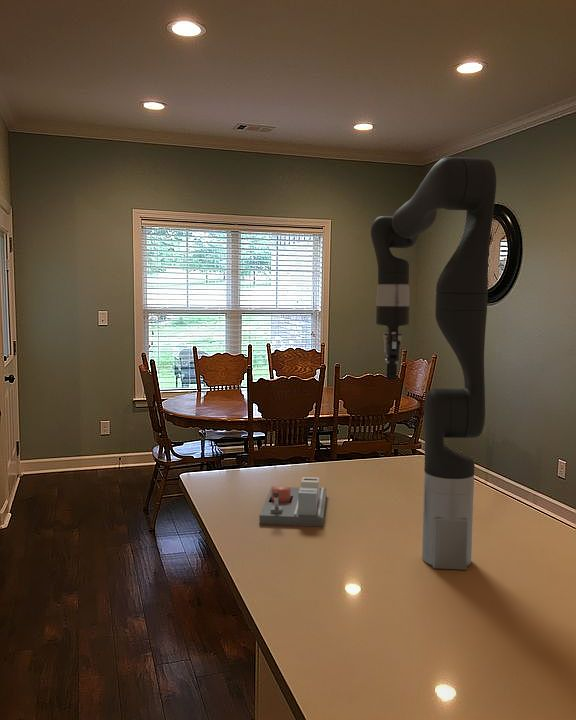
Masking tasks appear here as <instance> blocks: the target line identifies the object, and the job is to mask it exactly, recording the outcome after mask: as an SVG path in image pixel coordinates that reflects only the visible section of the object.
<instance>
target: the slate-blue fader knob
mask: <svg viewBox="0 0 576 720" xmlns="http://www.w3.org/2000/svg"><path fill="white" fill-rule="evenodd" d="M316 514H317V488H301V487H300V488H299V492H298V515H310V516H316Z"/></svg>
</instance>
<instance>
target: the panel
mask: <svg viewBox="0 0 576 720" xmlns="http://www.w3.org/2000/svg"><path fill="white" fill-rule="evenodd" d="M273 487H274V486H271V487H270V490H269V492H268V494H267V497H266V499H265V501H264V503H263V506H262V508H261V510H260V513H259V516H258V517H259V519H258V520H259V523H258V524H259V525H271V526H272V525H273V526H274V525H275V526H295V527H296V526H297V527H299V526H302V527H322V528H323V526H324V518H325V510H326V502H327V488H324V487H323V486H322V487H321V488H320V487H319V501H318V503H317V514H316V516H310V515H298V492H299V488H301V486H299V487H294V486H288V487H289V488H291V503H278V497H279V493H278V492H274V493H273V497H274V502H271V489H272V488H273Z"/></svg>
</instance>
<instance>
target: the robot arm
mask: <svg viewBox="0 0 576 720" xmlns="http://www.w3.org/2000/svg"><path fill="white" fill-rule="evenodd" d="M496 195H497V172H496V169H495V165H494V163H493V162H492V161H491V160H490V159H487V158H480V157H461V156H448V157H443V158H441V159H440V160H438V161H437V162H436V163H435V164H434V165H433V166H432V167H431V168H430V170H429V171H428V173H427V174H426V176H425V177H424V179H423V180H422V182H420V184H419V186H418V187H417V189H416V191H415V192H414V194H413V195H412V196H411V198H410V199H409V200H407V201H406V202H404V204H402V206H400V207H399V208H398V209H397V210H395V212H394V213H393V215H392V216H390V215H385V216H384V215H383V216H382V215H381V216H377V217H376V218H375V219H374V221H373V222H372V225H371V228H370V238H371V243H372V246H373V248H374V253H375V258H376V262H377V291H376V305H375V306H376V307H375V308H376V309H375V310H376V311H375V312H376V313H375V314H376V315H375V316H376V317H375V319H376V320H375V324H376V325H377V326H386V332H383V334H382V340H383V352H384V353H385V356H384V358H385V363H386V374H385V375H386V379H387V380H388V381H394V380H397V374H398V373H397V367H398V362H399V360H400V357H399V355H400V352H401V342H402V337H403V336H402V333H400V332H399V327H400V326H404V327H405V326H408V325H409V323H410V299H411V297H410V296H411V295H410V284H409V283H410V264H409V261H408V260H407V259H404V258H401V257H398V256H394V255H393V253H392V251H391V250H390V249H392V248H393V249H407V248H410V247H413V246H414V245H416V243H417V241H418V238H419V236H420V234H422V233H423V232H424V231H426V230H428V229H429V228H430V227H431V226H432V225H433V223H434V222H435V220H436V217H437V213H438V212H437V211H438V210H440V209H444V210H447V211H466V216H465V217H466V218H465V224H464V230H463V234H462V236H461V240H460V242H459V244H458V246H457V248H456V249H455V251H454V252H453V254H452V255H451V257H450V258H449V260H448V262H447V263H446V264H445V266H444V267H443V269H442V271H441V273H440V274H439V277H438V279H437V282H436V287H435V312H434V313H435V320H436V324H437V326H438V327H439V330H440V331H441V333H442V335H443V336H444V339H446V341H447V343H448V344H449V346H450V348H451V349H452V351H453V352H454V354H455V356H456V358H457V361H458V362H459V364H460V367H461V369H462V374H463V380H464V381H463V382H464V388H431V389H429V390H428V391H427V392H426V394H425V398H424V404H423V420H424V423H423V425H424V469H423V471H424V477H423V479H424V480H423V503H422V504H423V506H422V507H423V509H422V510H423V511H422V541H421V542H422V543H421V544H422V547H421V559H422V560H423V561H424V562H425V563H426V564H428V565H430V566H431V567H432V568H433V569H442V570H443V569H445V570H464V571H466V570H467V569H468V567H469V566H471V564H472V550H473V549H472V548H473V521H474V518H473V517H474V495H475V494H474V490H475V461H474V460H473V458H472V457H470V456H468V455H467V454H464V453H463V452H462V453H461V452H458V451H456V450H453V449H451V448H450V447H449V446H447V445H446V444H445V443H444V440H445V439H446V438H449V439H450V438H451V439H452V438H453V439H457V438H459V439H462V438H463V439H465V438H466V439H469V438H470V439H473V438H478V437H480V436H481V435H482V434H483V430H484V427H485V422H486V421H485V420H486V385H485V383H486V382H485V345H486V326H487V325H486V324H487V313H488V298H489V297H488V295H489V291H488V289H489V288H488V287H489V286H488V285H489V284H488V283H489V282H488V281H489V260H490V259H489V255H490V243H491V242H490V241H491V234H492V233H491V232H492V225H493V224H492V223H493V218H494V217H493V216H494V209H495V203H496V202H495V200H496ZM444 438H445V439H444Z"/></svg>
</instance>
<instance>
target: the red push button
mask: <svg viewBox="0 0 576 720" xmlns="http://www.w3.org/2000/svg"><path fill="white" fill-rule="evenodd" d="M272 487H273V488H272V489H271V488H270V489H271V502H274V497H273V493H274V492H278V493H279V497H278V503H291V488H289V487H290V486H284V485H279V486H278V485H277V486H272Z"/></svg>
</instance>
